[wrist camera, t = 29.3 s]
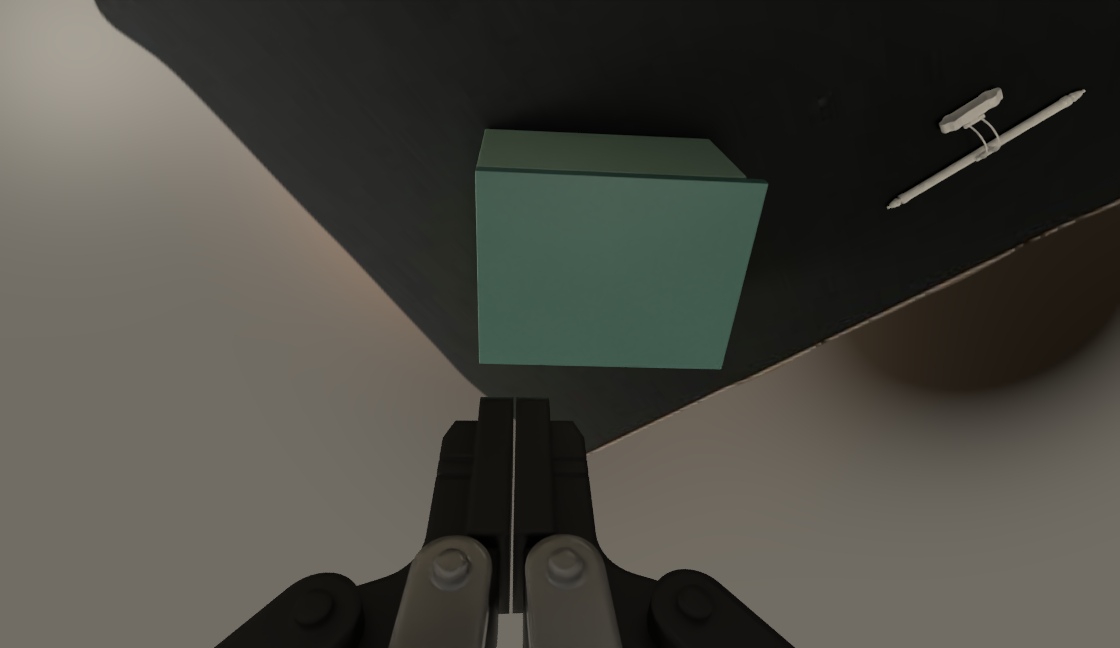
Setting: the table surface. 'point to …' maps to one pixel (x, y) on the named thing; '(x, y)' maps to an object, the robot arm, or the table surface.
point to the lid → (610, 266)
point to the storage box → (604, 153)
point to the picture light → (969, 117)
